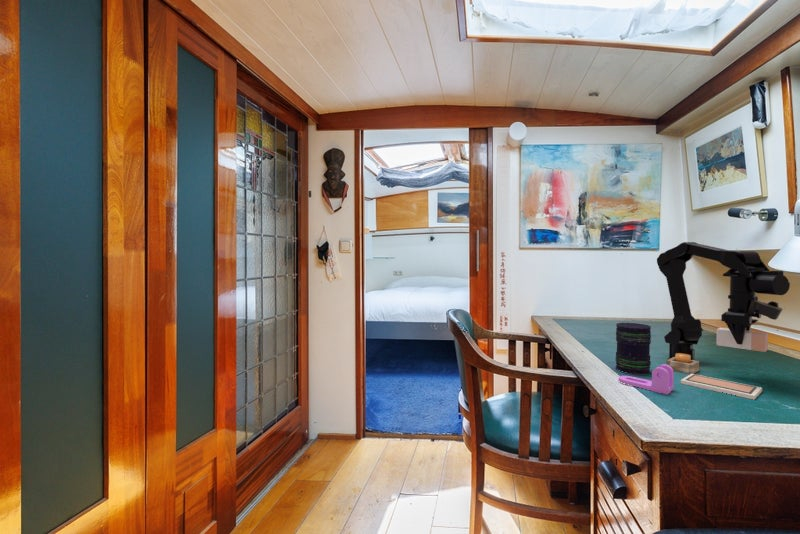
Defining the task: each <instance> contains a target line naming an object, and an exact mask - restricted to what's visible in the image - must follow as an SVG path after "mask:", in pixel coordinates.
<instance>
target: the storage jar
mask: <svg viewBox="0 0 800 534" xmlns="http://www.w3.org/2000/svg"><path fill="white" fill-rule="evenodd" d="M615 326H616V329H615V340H616V352H615V365H616V366H615V369H616V370H617V369H618V370H620V371H623V372H622V373H624V372H627V373H626V374H628V373H632V374H631V375H634V374H648V375H650V374H651V363H652V361H651V355H650V352H651V351H650V346H651V344H652V333H651V329H652V327H651V326H652V325H648V324H643V323H637V322H617V323H616V324H615ZM618 370H617V371H618ZM620 371H619V372H620ZM649 373H650V374H649Z"/></svg>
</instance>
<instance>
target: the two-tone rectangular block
mask: <svg viewBox="0 0 800 534" xmlns="http://www.w3.org/2000/svg"><path fill="white" fill-rule="evenodd" d="M715 343H716V346H720V347H727V348H735V349H743V350H749V351H757V352H762V353H766V352H767V351H768V350H769V332H764V331H754V330H749V331H748V330H746V331H745V335H744V339H743V343H742V345H740V344H737V343H736V341H735V339H734V337H733V335H732V333H731V331H730V330H729V328H728V327H718V328H717V329H716V342H715Z"/></svg>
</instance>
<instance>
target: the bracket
mask: <svg viewBox="0 0 800 534" xmlns="http://www.w3.org/2000/svg"><path fill="white" fill-rule="evenodd" d="M674 372H675V371H673V369H672V367H670V366H669V365H667V363H665V364H661V365H659V366H657V367H655V368H654V369H653V370H652V372H651V380H649V379H645V378H642V377H641V378H640V377H634V376H631V375H630V376H629V375H620V376H618V382H619V381H620V382H622V383H625V384H629V385H632V386H636V387H639V388H638V389H641V388H643V389H642V390H645V389H647V390H646V391H649V390H651V391H650V392H653V393H654V392H655V393H659V394H662V393H663V395H669V394H670V393H672V392H673V391H674V378H675V377H674V374H675V373H674ZM632 386H631V387H632ZM636 387H635V388H636ZM671 391H672V392H671Z"/></svg>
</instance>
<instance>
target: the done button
mask: <svg viewBox="0 0 800 534" xmlns="http://www.w3.org/2000/svg"><path fill="white" fill-rule="evenodd" d="M675 361H677V362H682V363H688V364H690V363H691V356H690V355H688V354H682V353H676V355H675Z"/></svg>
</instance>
